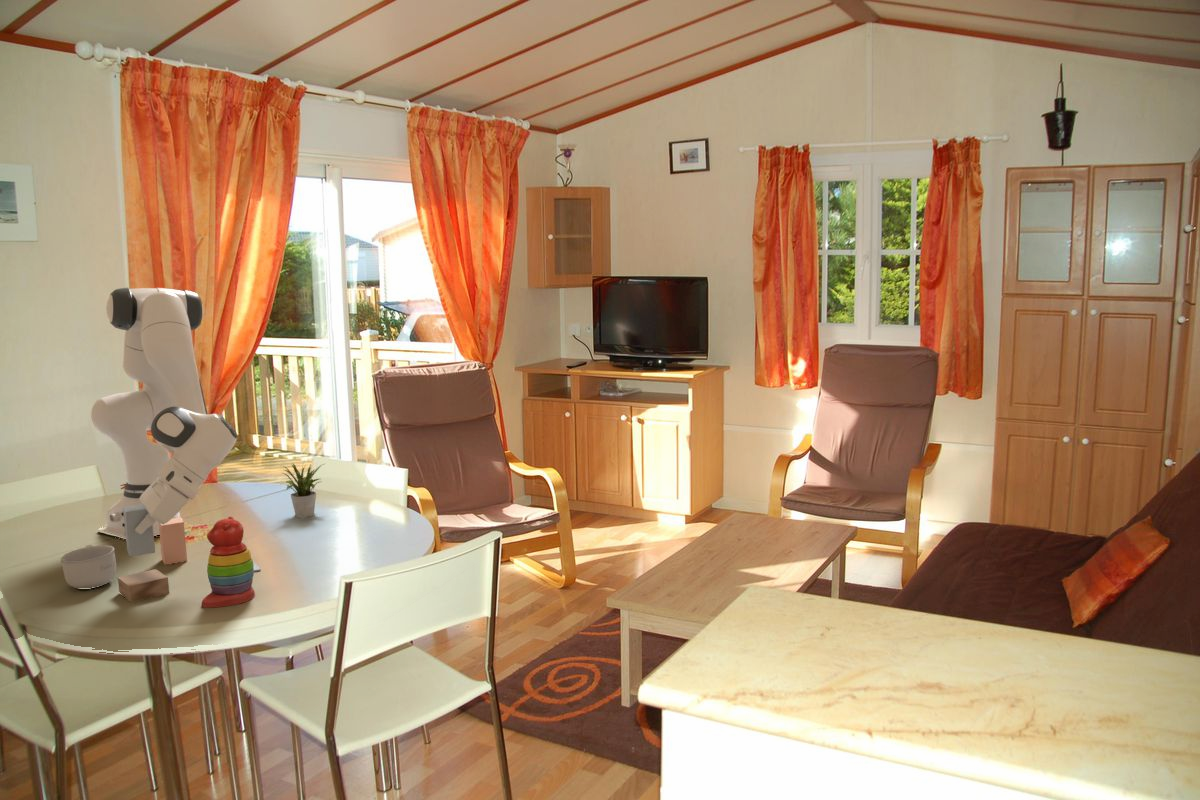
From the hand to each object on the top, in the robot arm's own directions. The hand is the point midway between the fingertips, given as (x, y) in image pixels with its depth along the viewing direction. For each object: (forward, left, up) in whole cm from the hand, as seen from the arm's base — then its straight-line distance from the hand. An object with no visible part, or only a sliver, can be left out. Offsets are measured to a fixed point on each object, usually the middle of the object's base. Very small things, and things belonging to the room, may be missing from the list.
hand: (135, 528), depth 204 cm
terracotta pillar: (-12, +21, -15) cm, 28 cm away
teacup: (-17, +2, -15) cm, 23 cm away
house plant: (-10, +65, -15) cm, 67 cm away
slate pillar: (0, +1, -5) cm, 5 cm away
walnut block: (0, +1, -15) cm, 15 cm away
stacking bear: (+21, +5, -15) cm, 26 cm away
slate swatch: (+10, +21, -15) cm, 27 cm away
